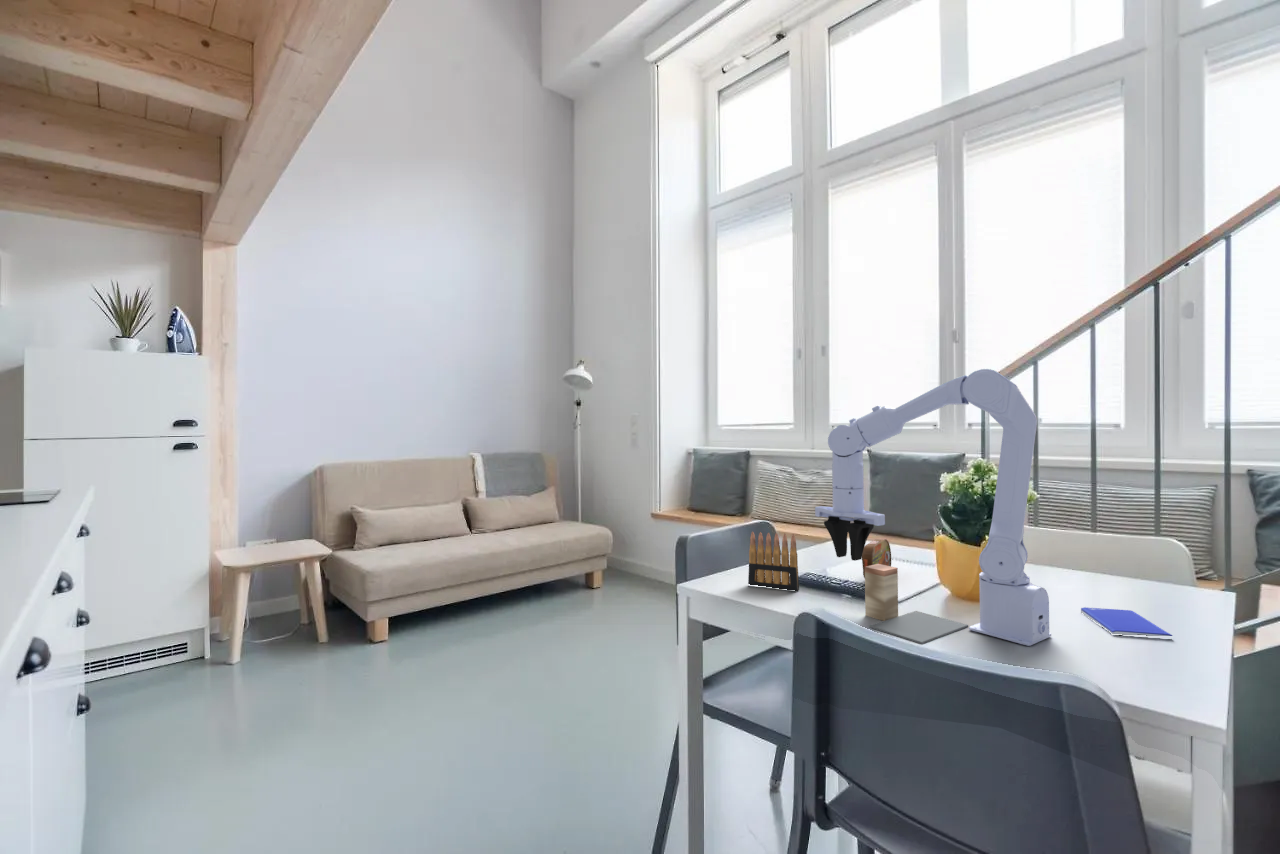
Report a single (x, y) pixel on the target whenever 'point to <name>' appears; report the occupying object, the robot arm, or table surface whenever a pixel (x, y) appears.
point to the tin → (876, 554)
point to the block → (881, 592)
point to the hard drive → (1123, 622)
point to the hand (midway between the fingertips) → (848, 558)
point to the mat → (918, 626)
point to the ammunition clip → (773, 563)
